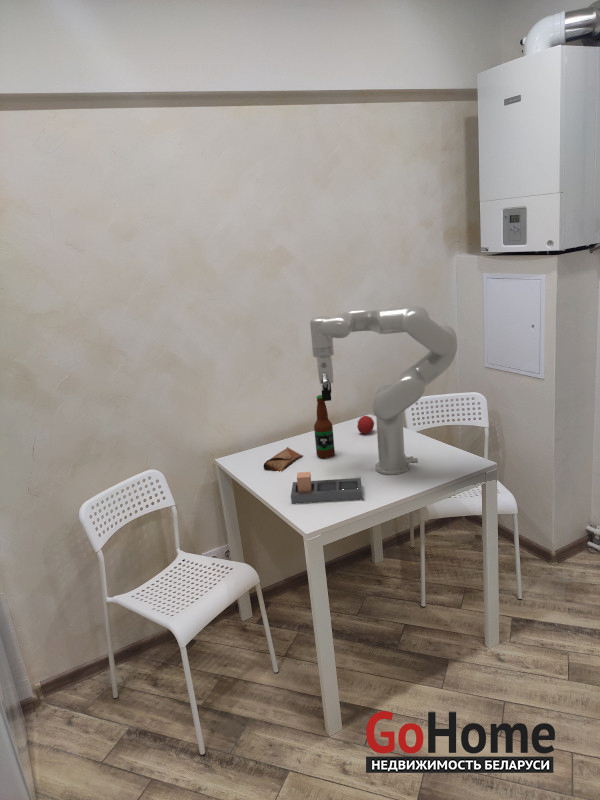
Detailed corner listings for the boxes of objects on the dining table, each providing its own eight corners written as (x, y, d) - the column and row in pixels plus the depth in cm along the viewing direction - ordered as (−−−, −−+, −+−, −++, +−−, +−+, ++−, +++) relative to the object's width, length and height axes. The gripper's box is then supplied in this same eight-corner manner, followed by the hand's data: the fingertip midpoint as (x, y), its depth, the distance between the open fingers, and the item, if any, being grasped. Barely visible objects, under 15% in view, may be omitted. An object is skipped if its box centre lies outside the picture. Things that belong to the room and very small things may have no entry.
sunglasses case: (282, 472, 233) (273, 457, 233) (269, 479, 237) (260, 464, 237) (305, 455, 248) (296, 441, 248) (293, 461, 252) (284, 448, 252)
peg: (312, 492, 213) (310, 471, 211) (311, 498, 209) (309, 476, 207) (299, 493, 214) (297, 472, 211) (299, 499, 210) (296, 477, 207)
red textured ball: (374, 414, 261) (358, 410, 265) (366, 429, 258) (350, 424, 262) (378, 424, 268) (362, 419, 271) (370, 439, 265) (355, 434, 268)
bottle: (314, 458, 243) (309, 398, 236) (319, 451, 250) (313, 393, 243) (332, 459, 241) (327, 398, 234) (336, 452, 248) (331, 393, 241)
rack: (361, 485, 215) (360, 477, 214) (362, 499, 205) (362, 491, 204) (293, 489, 217) (292, 482, 216) (291, 503, 207) (290, 495, 206)
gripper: (333, 355, 211) (337, 403, 216) (333, 345, 228) (337, 389, 233) (311, 357, 212) (316, 404, 217) (313, 347, 228) (317, 391, 233)
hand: (327, 396), depth 225 cm, fingers open, 9 cm apart
